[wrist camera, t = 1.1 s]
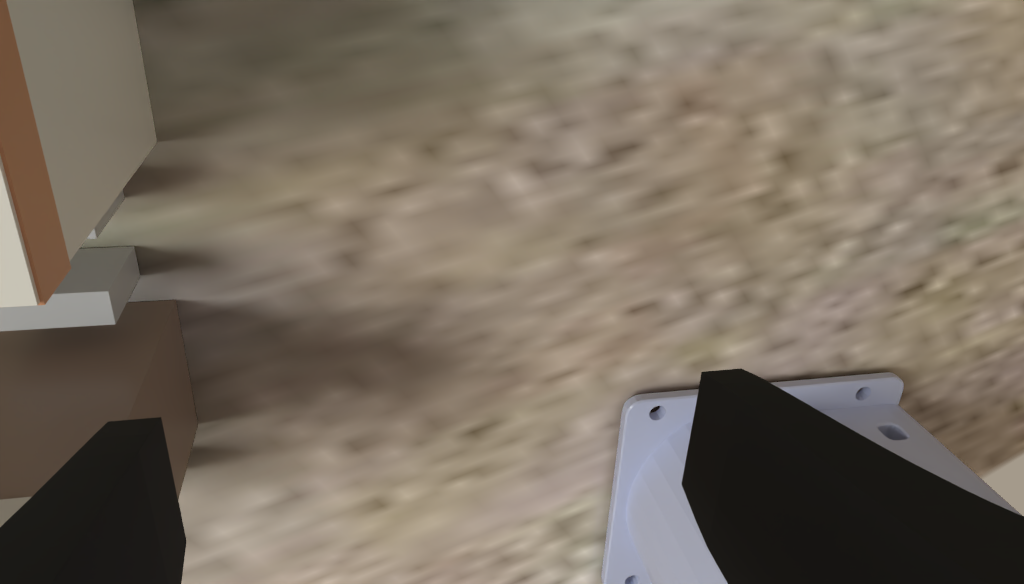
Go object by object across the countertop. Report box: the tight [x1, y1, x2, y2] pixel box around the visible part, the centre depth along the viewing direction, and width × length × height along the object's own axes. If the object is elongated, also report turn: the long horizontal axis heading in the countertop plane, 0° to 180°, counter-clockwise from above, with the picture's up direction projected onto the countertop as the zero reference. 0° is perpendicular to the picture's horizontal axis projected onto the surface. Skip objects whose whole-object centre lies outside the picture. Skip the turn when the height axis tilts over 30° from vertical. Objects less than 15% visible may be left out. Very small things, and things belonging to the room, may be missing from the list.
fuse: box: [0, 300, 198, 527], centre depth 16 cm, size 4×4×8 cm
